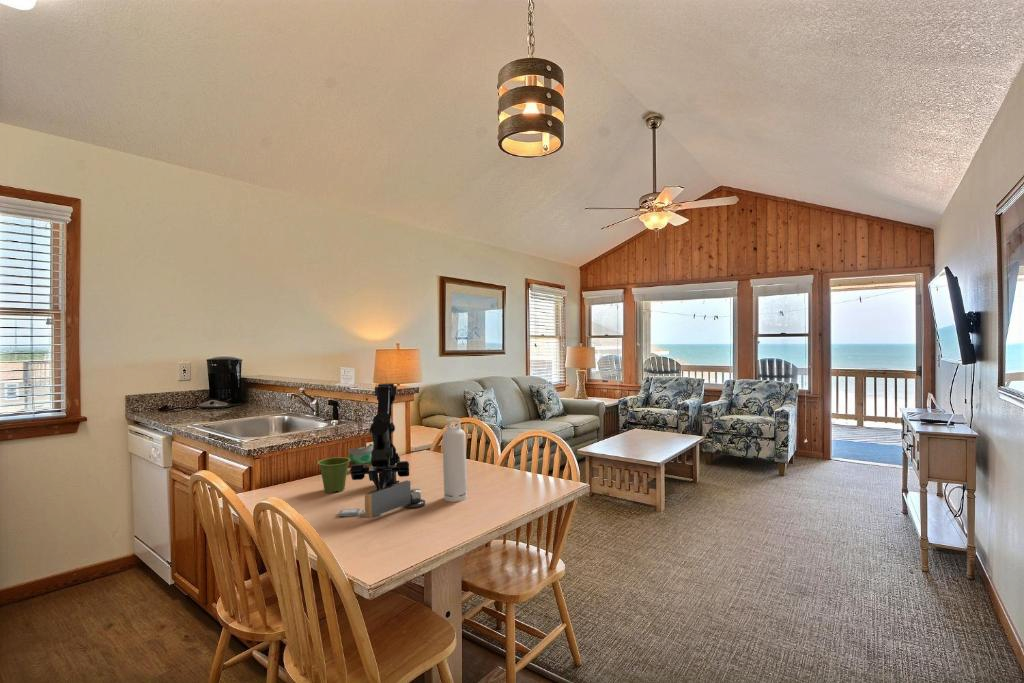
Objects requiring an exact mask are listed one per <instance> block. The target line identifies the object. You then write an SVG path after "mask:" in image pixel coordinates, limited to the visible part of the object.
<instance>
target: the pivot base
mask: <svg viewBox="0 0 1024 683" xmlns="http://www.w3.org/2000/svg"><path fill="white" fill-rule="evenodd" d="M425 506H426V500H425V499H423V498H421V501H420V502H418V503H410V504H407V505H404V508H405V509H410V510H411V509H415V510H416V509H419V508H423V507H425Z"/></svg>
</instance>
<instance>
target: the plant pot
mask: <svg viewBox="0 0 1024 683" xmlns="http://www.w3.org/2000/svg"><path fill="white" fill-rule="evenodd" d="M350 463H351V460H350V457H345V456H343V457H339V456H338V457H330V458H329V457H327V458H324V459H321V460H318V461H317V464H318V466H319V470H320V474H321V478H322V479H321V480H322V484H323V490H324V492H325V493H329V492H333V493H335V492H336V491H340V492H342V491H344V490H345V488H346V481H347V475H348V468H349V464H350ZM343 489H344V490H343ZM341 490H342V491H341ZM336 493H337V492H336Z"/></svg>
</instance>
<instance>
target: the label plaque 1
mask: <svg viewBox="0 0 1024 683" xmlns="http://www.w3.org/2000/svg"><path fill="white" fill-rule="evenodd" d="M360 510H361V508H350V509H340V511H339V513H338V518H341V517H340V516H348V517H356V516H355V515H358V514H359V515H360V512H359V511H360ZM353 515H354V516H353ZM359 515H358V516H359Z"/></svg>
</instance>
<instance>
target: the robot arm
mask: <svg viewBox="0 0 1024 683" xmlns="http://www.w3.org/2000/svg"><path fill="white" fill-rule="evenodd" d="M397 395H398V387H397V386H396V385H395V384H394V383H379V384H378V385H377V386H374V396H375V397H376V400H377V402H378V403H377V413H376V415H375V416H374V417H373V419H372V421H373V422H372V423H371V424H370V427H369V434H370V435H371V440H372V445H373V450H372V452H371V465H372V466H371V467H369V468H364V465H363V464H355V465H352V466H351V465H350V470H349V471H350V473H349V474H350V475H351V476H350V477H351V480H353V481H357V480H358V481H359V480H360V481H361V480H363V479H364V478H365V477H366V476H365V475H368V480H369V481H370V482H373V484H374V486H375V488H376V489H375V490H378V489H381V488H384V487H387V486H390V485H394V484H397V483H400V480H397V476H398V477H400V478H402V477H403V478H404V477H409V476H410V462H409V461H408V460H404V461H403V460H402V461H401V458H400V455H399V452H397V448H396V446H395V444H393V433H394V432H395V430H396V426H395V424H394V422H393V416H392V415H393V412H392V411H393V410H392V409H393V404H394V403H395V400H396V396H397Z"/></svg>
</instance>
